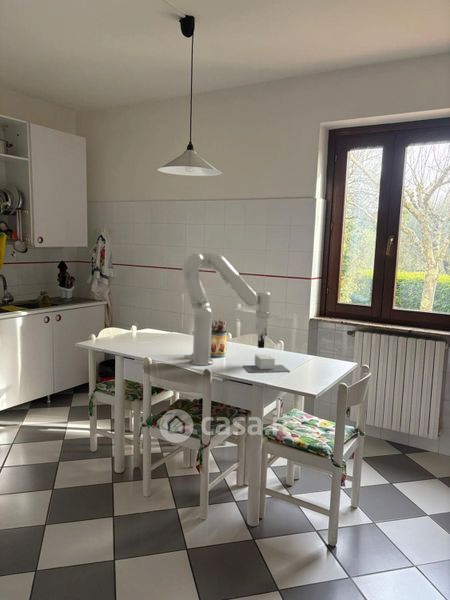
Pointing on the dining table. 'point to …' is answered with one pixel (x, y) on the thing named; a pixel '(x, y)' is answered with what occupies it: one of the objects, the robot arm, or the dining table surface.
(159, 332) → the dining table surface
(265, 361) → the small box
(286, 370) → the mat
